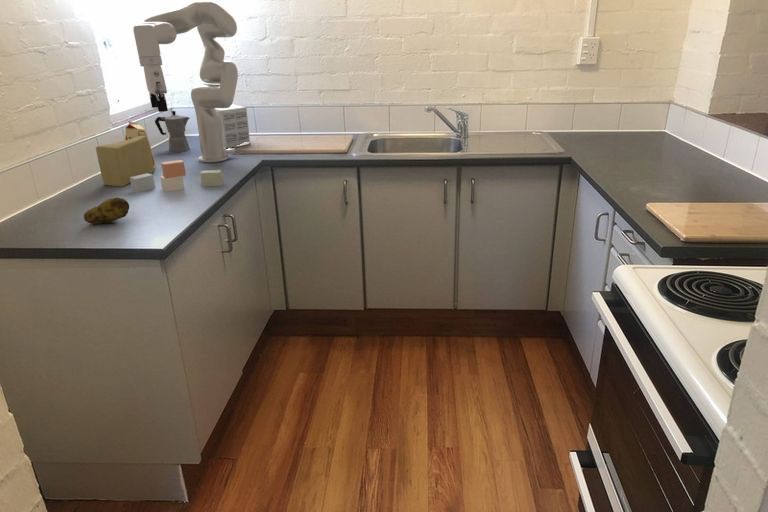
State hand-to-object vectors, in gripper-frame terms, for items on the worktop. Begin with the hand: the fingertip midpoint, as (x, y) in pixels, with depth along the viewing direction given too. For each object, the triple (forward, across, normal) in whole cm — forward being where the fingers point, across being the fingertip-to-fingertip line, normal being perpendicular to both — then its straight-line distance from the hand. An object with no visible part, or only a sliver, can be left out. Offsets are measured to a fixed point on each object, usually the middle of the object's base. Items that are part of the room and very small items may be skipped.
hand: (159, 109), depth 212 cm
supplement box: (+29, +45, -39) cm, 67 cm away
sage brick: (+26, -20, -10) cm, 34 cm away
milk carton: (+27, +20, +7) cm, 34 cm away
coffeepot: (+28, +47, -14) cm, 57 cm away
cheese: (+26, +6, +13) cm, 30 cm away
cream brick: (+26, -18, +4) cm, 31 cm away
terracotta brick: (+21, -18, +3) cm, 27 cm away
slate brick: (+26, -11, +13) cm, 31 cm away
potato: (+24, -44, +30) cm, 58 cm away
